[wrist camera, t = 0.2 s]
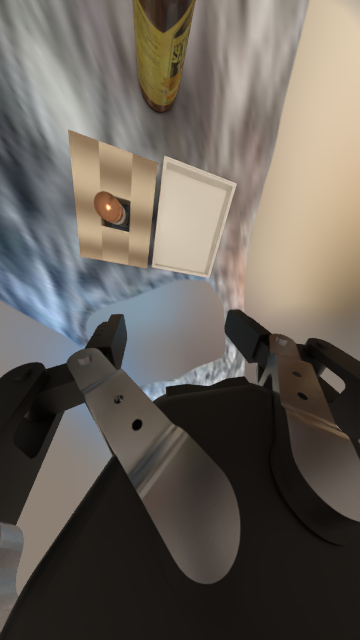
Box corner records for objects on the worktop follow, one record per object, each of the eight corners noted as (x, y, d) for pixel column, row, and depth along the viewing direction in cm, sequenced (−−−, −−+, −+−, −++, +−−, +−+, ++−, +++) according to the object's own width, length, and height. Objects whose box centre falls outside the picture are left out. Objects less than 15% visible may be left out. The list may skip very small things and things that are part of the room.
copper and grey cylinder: (113, 206, 29) (92, 187, 18) (130, 210, 29) (119, 195, 19) (113, 224, 30) (94, 217, 20) (129, 228, 31) (119, 223, 21)
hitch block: (85, 152, 25) (68, 129, 19) (156, 176, 28) (157, 162, 23) (91, 253, 32) (80, 256, 27) (147, 264, 35) (147, 268, 30)
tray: (162, 164, 27) (164, 155, 24) (228, 189, 31) (236, 183, 28) (151, 264, 35) (151, 267, 32) (204, 274, 39) (209, 277, 36)
